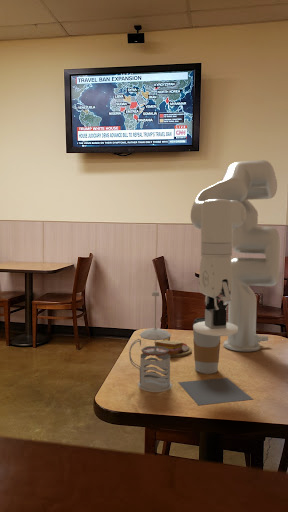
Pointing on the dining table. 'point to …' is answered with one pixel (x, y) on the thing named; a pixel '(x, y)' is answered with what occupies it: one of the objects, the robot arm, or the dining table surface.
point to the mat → (214, 391)
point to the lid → (210, 329)
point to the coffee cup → (206, 351)
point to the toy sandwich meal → (174, 347)
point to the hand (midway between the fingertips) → (215, 322)
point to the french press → (153, 379)
